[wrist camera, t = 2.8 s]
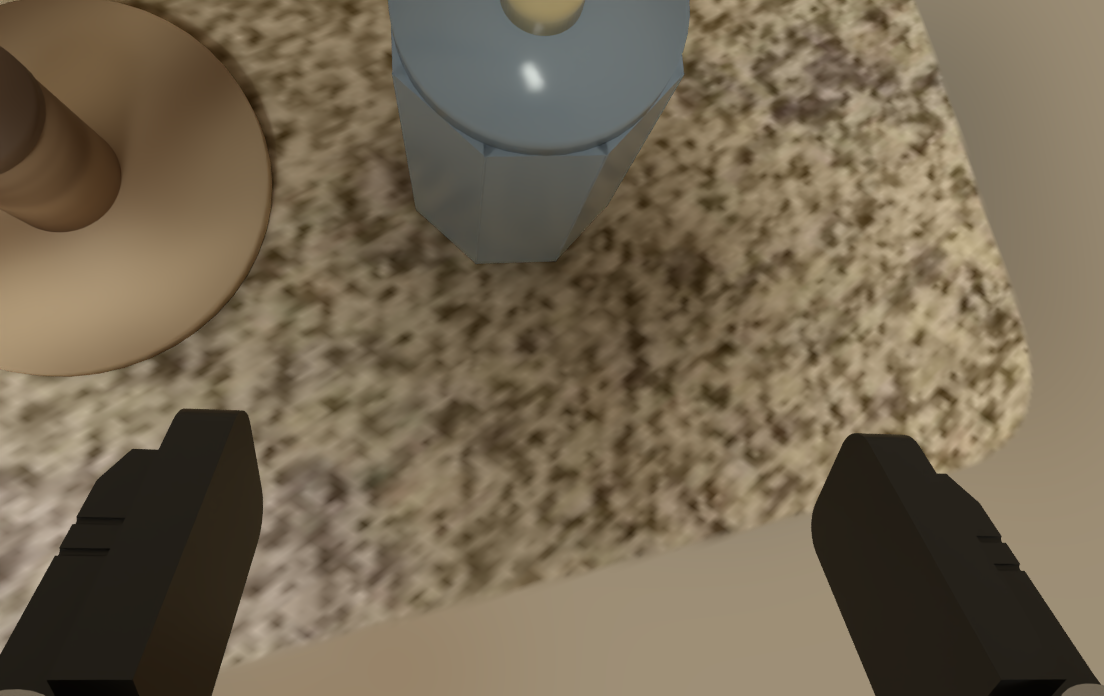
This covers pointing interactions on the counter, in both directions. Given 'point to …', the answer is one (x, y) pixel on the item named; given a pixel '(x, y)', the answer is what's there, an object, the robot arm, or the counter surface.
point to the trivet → (132, 192)
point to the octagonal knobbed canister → (528, 112)
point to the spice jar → (50, 157)
